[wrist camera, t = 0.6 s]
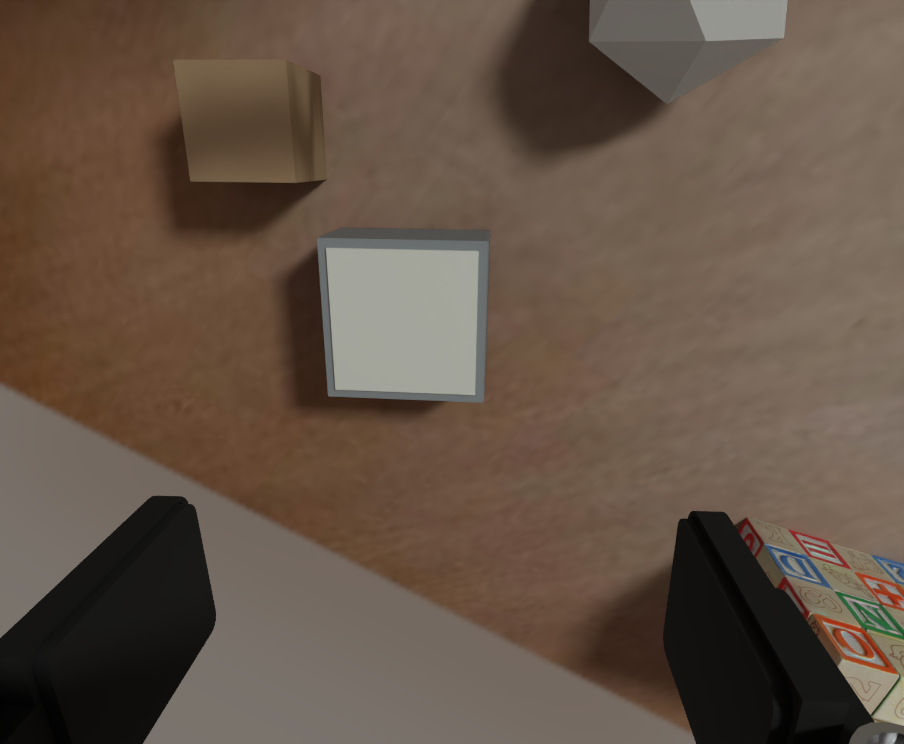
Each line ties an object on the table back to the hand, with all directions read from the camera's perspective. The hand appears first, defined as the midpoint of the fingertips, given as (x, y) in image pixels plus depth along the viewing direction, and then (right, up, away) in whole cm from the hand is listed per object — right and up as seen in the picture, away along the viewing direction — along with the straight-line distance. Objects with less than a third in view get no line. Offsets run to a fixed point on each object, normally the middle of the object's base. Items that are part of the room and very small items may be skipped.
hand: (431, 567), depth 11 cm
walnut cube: (-10, +18, +22) cm, 30 cm away
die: (+11, +23, +19) cm, 31 cm away
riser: (-2, +8, +25) cm, 26 cm away
